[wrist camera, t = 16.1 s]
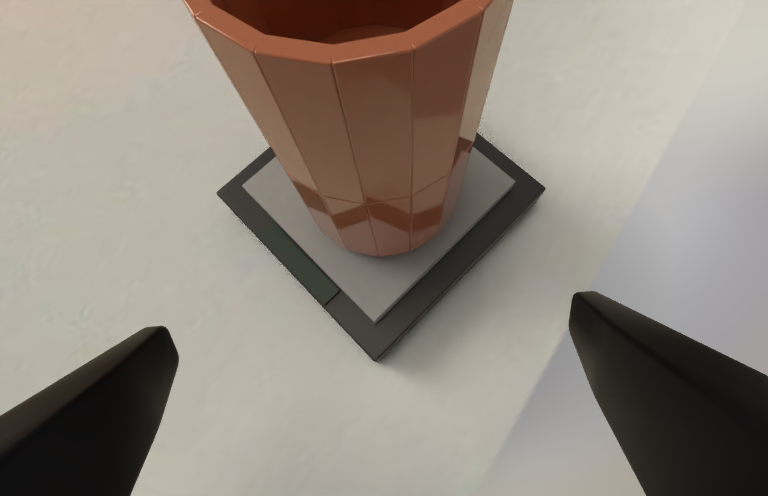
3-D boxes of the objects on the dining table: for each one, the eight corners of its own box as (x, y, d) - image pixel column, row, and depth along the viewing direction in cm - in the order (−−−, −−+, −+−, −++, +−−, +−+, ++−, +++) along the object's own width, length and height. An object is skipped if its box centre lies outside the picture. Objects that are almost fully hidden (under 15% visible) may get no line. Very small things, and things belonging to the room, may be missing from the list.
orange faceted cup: (441, 274, 19) (502, 91, 7) (290, 242, 20) (103, 29, 8) (468, 136, 21) (553, -198, 9) (330, 112, 22) (231, -223, 10)
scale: (535, 203, 23) (551, 180, 20) (377, 363, 21) (373, 361, 18) (381, 77, 26) (378, 42, 23) (230, 207, 24) (208, 185, 21)
